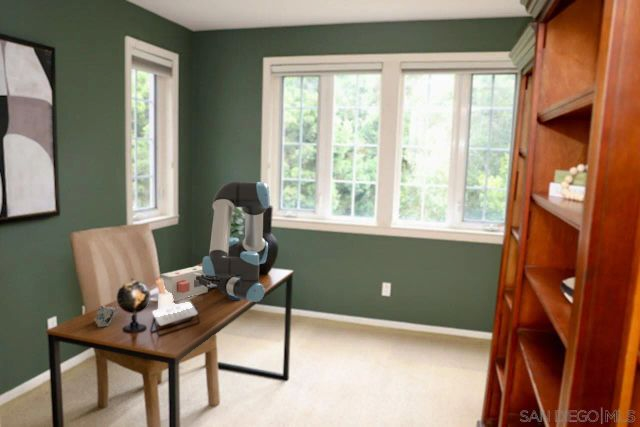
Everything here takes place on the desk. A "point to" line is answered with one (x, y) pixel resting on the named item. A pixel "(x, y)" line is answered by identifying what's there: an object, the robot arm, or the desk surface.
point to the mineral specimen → (105, 316)
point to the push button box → (183, 275)
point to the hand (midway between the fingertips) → (193, 275)
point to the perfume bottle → (234, 296)
